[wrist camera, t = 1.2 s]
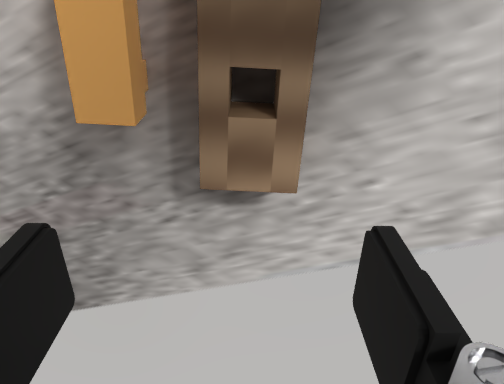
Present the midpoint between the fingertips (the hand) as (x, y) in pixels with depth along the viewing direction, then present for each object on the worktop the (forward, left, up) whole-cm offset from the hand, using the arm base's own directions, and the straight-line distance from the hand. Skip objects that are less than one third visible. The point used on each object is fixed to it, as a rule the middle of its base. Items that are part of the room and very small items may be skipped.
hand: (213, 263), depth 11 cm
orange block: (-5, -9, -22) cm, 24 cm away
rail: (-5, +1, -22) cm, 23 cm away
